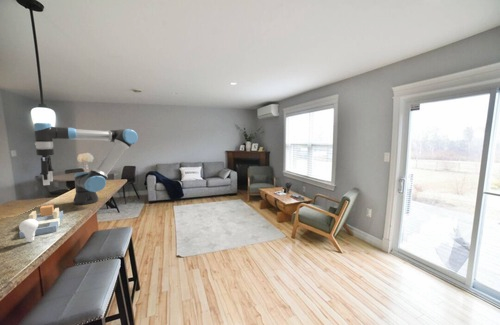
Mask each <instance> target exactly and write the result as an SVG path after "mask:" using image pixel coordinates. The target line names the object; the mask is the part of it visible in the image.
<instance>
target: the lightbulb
mask: <svg viewBox="0 0 500 325" xmlns="http://www.w3.org/2000/svg"><path fill="white" fill-rule="evenodd" d="M37 227H38V222H37V221H36V220H35V219H29V218H28V219H24V220H23V221H21V222H20V224H19V225H18V229H19V231H21V232H23V233H24V235H25V237H24V239H25V240H26V242H28V243H32V242H33V241H35V236H36V235H35V231H36V229H37Z"/></svg>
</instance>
